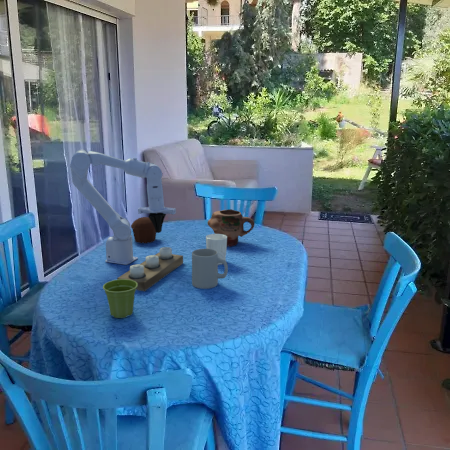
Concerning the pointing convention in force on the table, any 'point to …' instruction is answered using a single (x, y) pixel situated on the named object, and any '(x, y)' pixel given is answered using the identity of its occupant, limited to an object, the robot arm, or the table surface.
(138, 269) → the knob near
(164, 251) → the knob far
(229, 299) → the table surface
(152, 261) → the knob middle
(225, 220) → the brown ceramic rounded pot
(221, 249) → the white cup
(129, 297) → the plant pot
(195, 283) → the mug
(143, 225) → the muffin
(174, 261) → the knob strip
